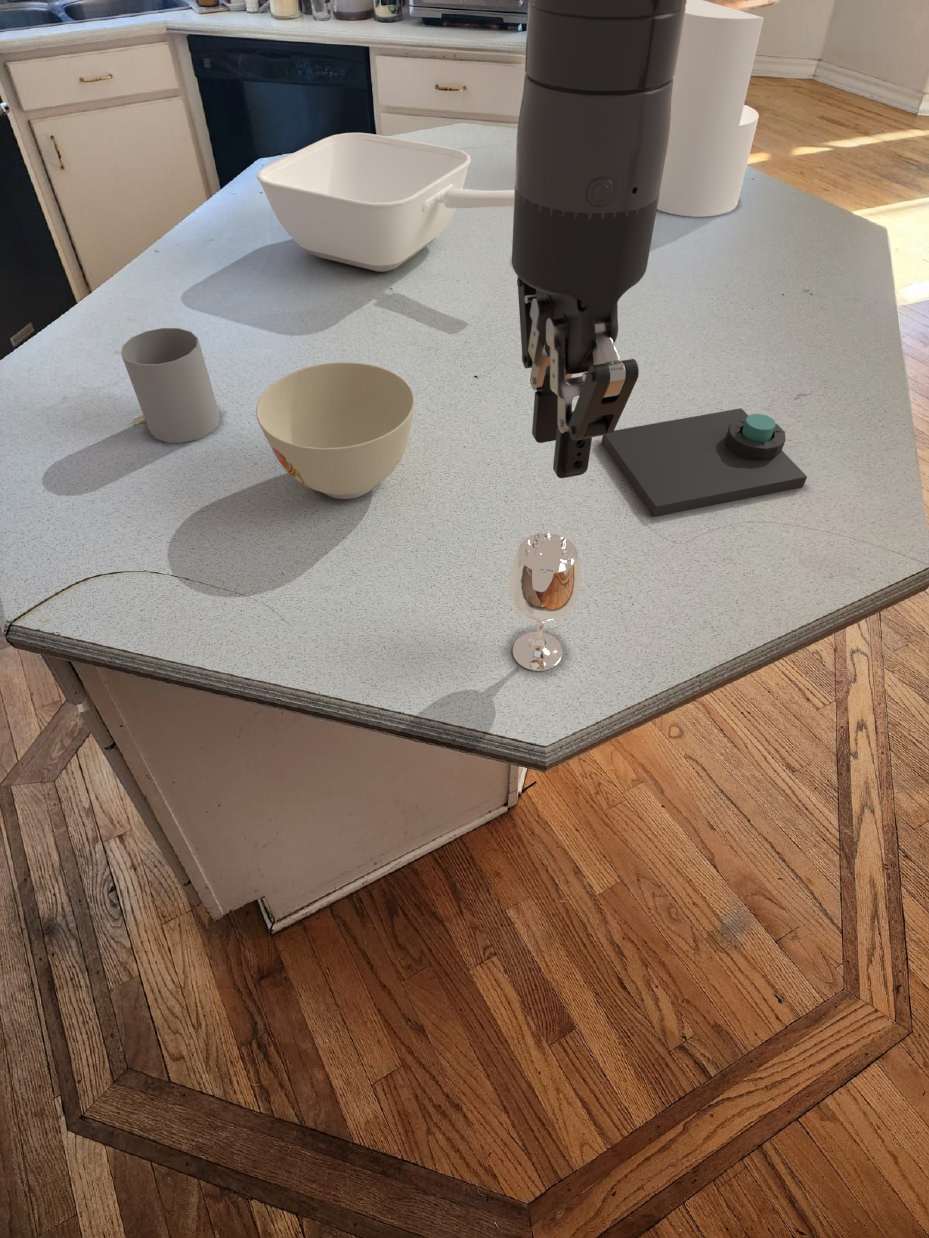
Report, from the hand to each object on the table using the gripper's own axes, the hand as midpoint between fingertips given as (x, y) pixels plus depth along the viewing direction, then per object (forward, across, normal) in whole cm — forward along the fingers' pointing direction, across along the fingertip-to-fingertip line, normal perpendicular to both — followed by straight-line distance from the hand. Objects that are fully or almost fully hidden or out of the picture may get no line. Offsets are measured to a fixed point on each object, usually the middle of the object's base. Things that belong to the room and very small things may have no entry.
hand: (558, 454), depth 52 cm
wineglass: (+21, 0, 0) cm, 21 cm away
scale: (+21, +21, -27) cm, 40 cm away
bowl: (+21, +29, +12) cm, 38 cm away
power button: (+19, +21, -34) cm, 44 cm away
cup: (+21, +46, +29) cm, 58 cm away
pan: (+21, +83, -9) cm, 86 cm away
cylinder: (+21, +95, -64) cm, 116 cm away
